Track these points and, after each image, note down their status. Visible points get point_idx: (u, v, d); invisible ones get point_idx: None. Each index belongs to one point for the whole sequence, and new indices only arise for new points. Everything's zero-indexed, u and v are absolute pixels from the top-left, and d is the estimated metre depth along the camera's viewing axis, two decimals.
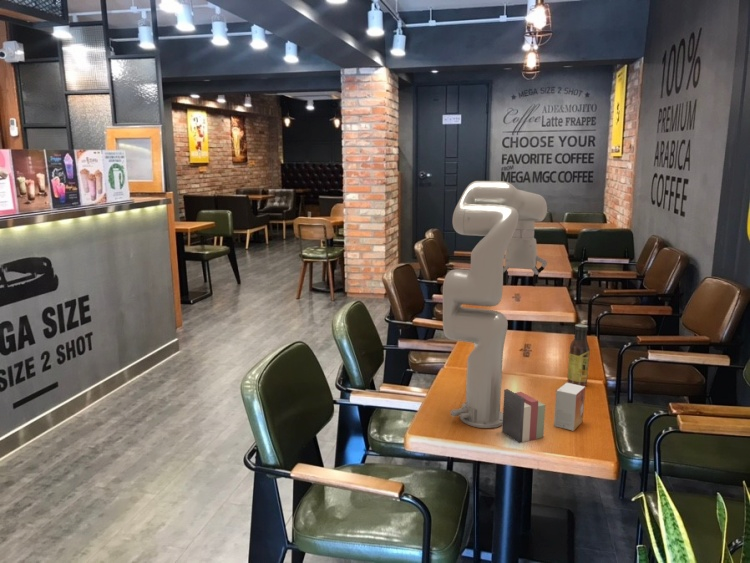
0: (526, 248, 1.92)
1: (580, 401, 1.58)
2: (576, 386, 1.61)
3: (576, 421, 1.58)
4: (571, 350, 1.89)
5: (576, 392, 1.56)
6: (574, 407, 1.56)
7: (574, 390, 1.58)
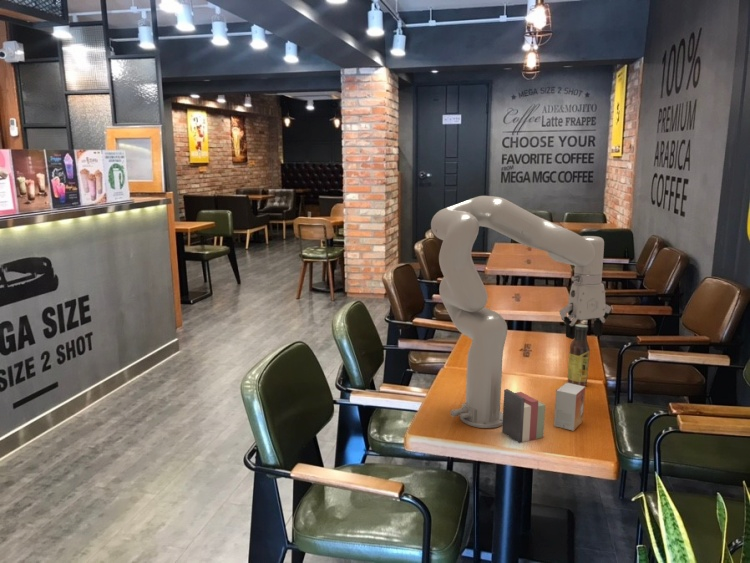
0: (598, 295, 1.67)
1: (580, 401, 1.58)
2: (576, 386, 1.61)
3: (576, 421, 1.58)
4: (571, 350, 1.89)
5: (576, 392, 1.56)
6: (574, 407, 1.56)
7: (574, 390, 1.58)
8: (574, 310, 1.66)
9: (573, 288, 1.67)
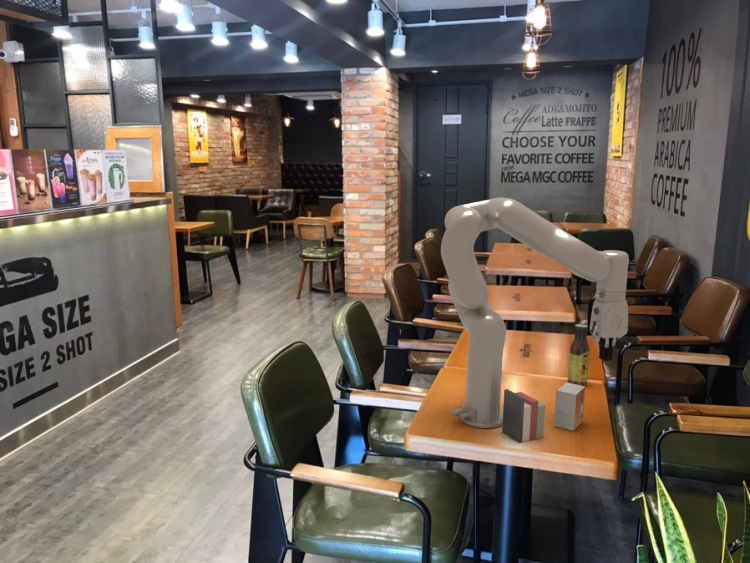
0: (622, 312, 1.59)
1: (580, 401, 1.58)
2: (576, 386, 1.61)
3: (576, 421, 1.58)
4: (571, 350, 1.89)
5: (576, 392, 1.56)
6: (574, 407, 1.56)
7: (574, 390, 1.58)
8: (598, 328, 1.58)
9: (596, 305, 1.58)
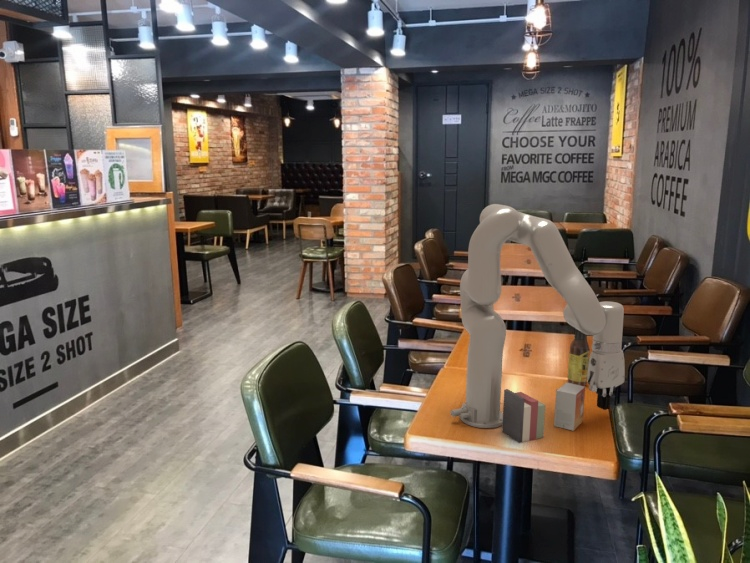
0: (619, 362, 1.62)
1: (580, 401, 1.58)
2: (576, 386, 1.61)
3: (576, 421, 1.58)
4: (571, 350, 1.89)
5: (576, 392, 1.56)
6: (574, 407, 1.56)
7: (574, 390, 1.58)
8: (595, 379, 1.61)
9: (593, 356, 1.61)
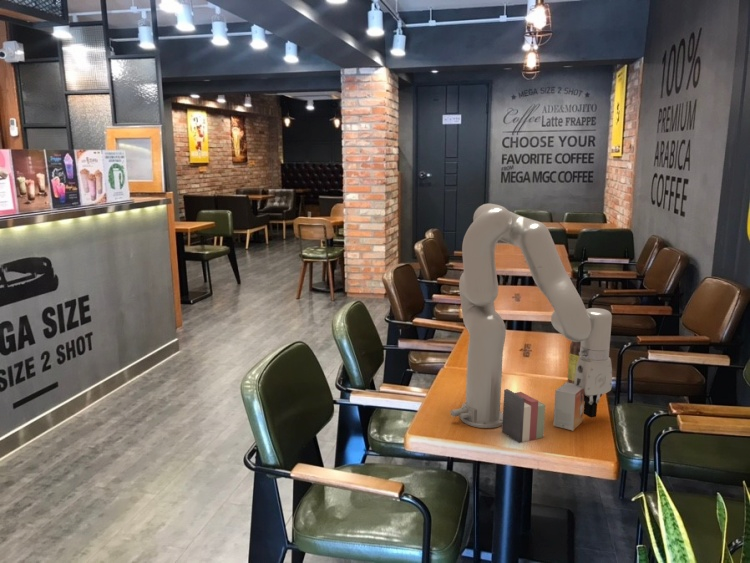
0: (606, 370, 1.60)
1: (579, 401, 1.58)
2: (575, 386, 1.60)
3: (575, 421, 1.57)
4: (571, 350, 1.89)
5: (575, 392, 1.56)
6: (573, 407, 1.55)
7: (573, 389, 1.58)
8: (582, 386, 1.59)
9: (580, 363, 1.60)
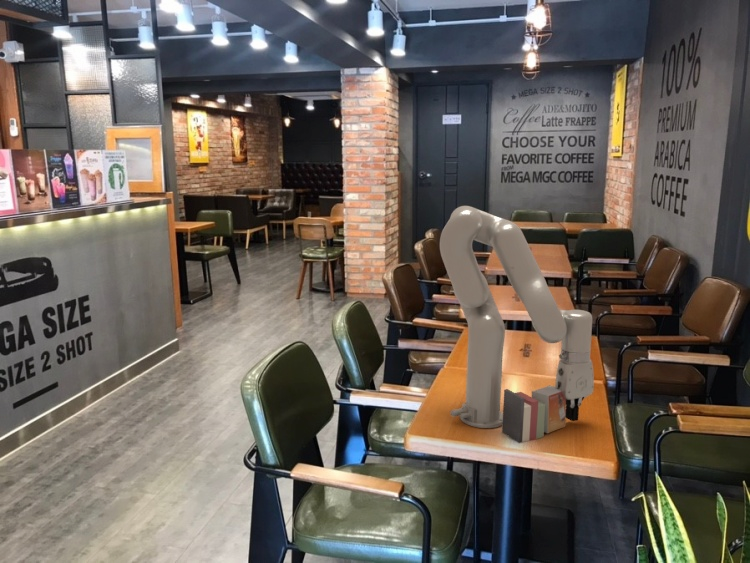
0: (587, 372, 1.57)
1: (557, 404, 1.55)
2: (556, 389, 1.58)
3: (552, 424, 1.55)
4: None
5: (550, 394, 1.54)
6: (547, 409, 1.53)
7: (550, 392, 1.56)
8: (563, 390, 1.56)
9: (561, 366, 1.56)
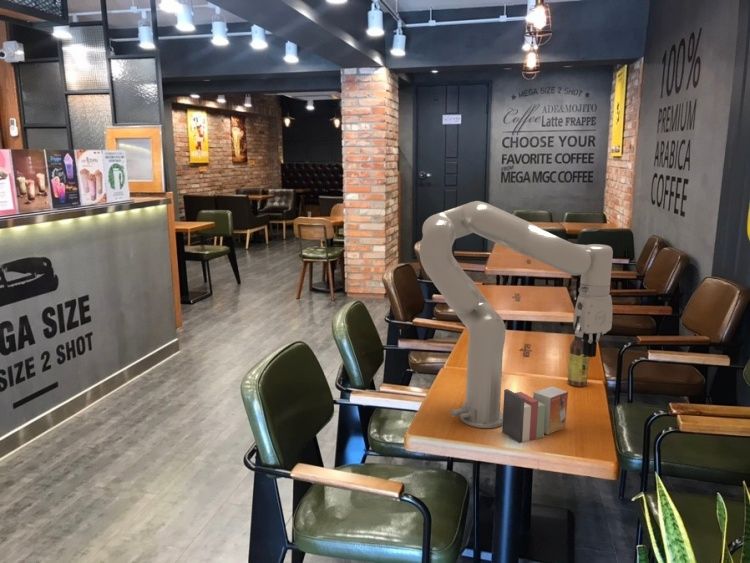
0: (606, 307, 1.56)
1: (558, 405, 1.55)
2: (558, 390, 1.57)
3: (552, 425, 1.55)
4: (571, 350, 1.89)
5: (552, 396, 1.54)
6: (548, 410, 1.53)
7: (552, 393, 1.55)
8: (581, 324, 1.55)
9: (580, 300, 1.56)
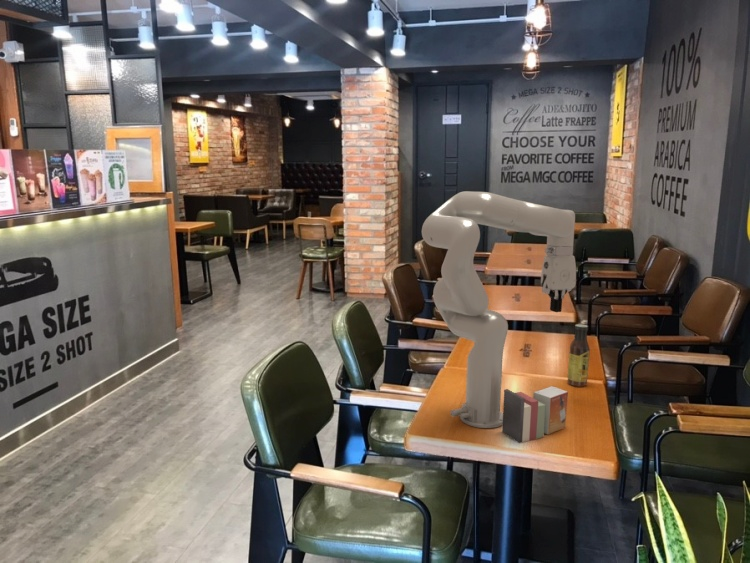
0: (570, 266, 1.73)
1: (558, 405, 1.55)
2: (558, 390, 1.57)
3: (552, 425, 1.55)
4: (571, 350, 1.89)
5: (552, 396, 1.54)
6: (548, 410, 1.53)
7: (552, 393, 1.55)
8: (547, 281, 1.72)
9: (546, 260, 1.72)
